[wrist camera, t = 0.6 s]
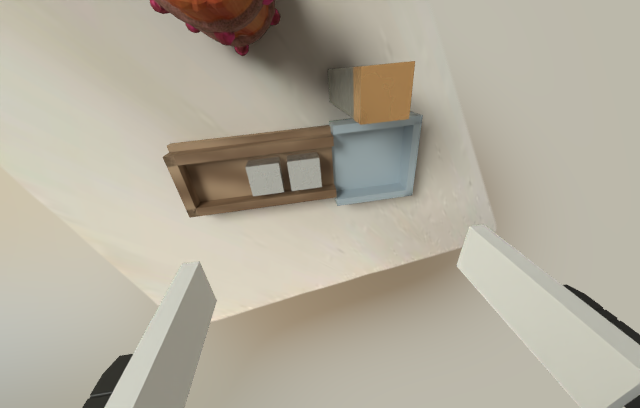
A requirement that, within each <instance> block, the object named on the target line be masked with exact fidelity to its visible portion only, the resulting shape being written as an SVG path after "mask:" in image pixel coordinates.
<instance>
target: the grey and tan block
mask: <svg viewBox="0 0 640 408" xmlns="http://www.w3.org/2000/svg"><path fill="white" fill-rule="evenodd" d="M414 67H415V61H411V62H400V63H390V64H380V65H370V66H357V67H347V68H337V69H328V82H329V99H330V103H332V104H333V105H335V106H336V107H338V108H339V109H341V110H342V111H343V112H345V113H346V114H348V115H349V116H351V117H352V118H354V120H355V121H356V122H358V123H359V124H360V125H363V124H372V123H380V122H389V121H397V120H406V119H409V115H410V105H411V96H412V86H413V76H414Z"/></svg>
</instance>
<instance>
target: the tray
mask: <svg viewBox="0 0 640 408" xmlns="http://www.w3.org/2000/svg"><path fill="white" fill-rule="evenodd" d="M422 117H423V115H420V114H417V113H414V112H410V115H409V119H406V120H397V121H389V122H380V123H372V124H363V125H360V124H359V123H358V122H356V121H355V120H354V118H352V119H343V120H334V121H329V126H330V128H331V134H332V135H333V140H334V146H332V160H333V176H334V185H335V188H336V193H337V197H334V198H335V201H336V203H337V206H340V205H347V204H354V203H361V202H368V201H375V200H382V199H389V198H397V197H404V196H411V195H412V193H413V185H414V178H415V170H416V162H417V155H418V147H419V140H420V132H421V125H422Z"/></svg>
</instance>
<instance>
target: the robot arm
mask: <svg viewBox="0 0 640 408" xmlns="http://www.w3.org/2000/svg"><path fill="white" fill-rule="evenodd" d="M456 266H457V267H458V268H459V270H460V271H461V272H462V273H463V274H464V275H465V276H466V278H467V279H468V280H469V281H470V282H471V283H472V284H473V286H474V287H475V288H476V289H477V290H478V291H479V292H480V293H481V295H482V296H483V297H484V298H485V299H486V300H487V302H488V303H489V304H490V305H491V306H492V307H493V308H494V310H495V311H496V312H497V313H498V314H499V315H500V316H501V317H502V319H503V320H504V321H505V322H506V323H507V324H508V326H509V327H510V328H511V329H512V330H513V331H514V332H515V334H516V335H517V336H518V337H519V338H520V339H521V340H522V341H523V343H524V344H525V345H526V346H527V347H528V348H529V350H530V351H531V352H532V353H533V354H534V355H535V356H536V358H537V359H538V360H539V361H540V362H541V363H542V364H543V366H544V367H545V368H546V369H547V370H548V371H549V372H550V374H551V375H552V376H553V377H554V378H555V379H556V380H557V382H558V383H559V384H560V385H561V386H562V387H563V389H564V390H565V391H566V392H567V393H568V394H569V395H570V396H571V398H572V399H573V400H574V401H575V402H576V403H577V405H578V406H579V407H580V408H622V407H626V408H640V335H639V334H638V333H637V332H635V331H634V330H633V329H631V328H630V327H629V326H627V325H626V324H625V323H623V322H622V321H618V320H617V317H615V316H614V315H612V314H611V313H610V312H608V311H607V310H604V309H603V307H602V306H600V305H599V304H598V303H596V302H595V301H593V300H592V299H591V298H590V297H588V296H587V295H586V294H584V293H582V292H580V291H578V290H576V289H574V288H572V287H570V286H568V285H562V284H560V283H559V282H558V281H556V280H555V279H554V278H553V277H551V276H550V275H549V274H547V273H546V272H545V271H543V270H542V269H541V268H540V267H538V266H537V265H536V264H535V263H533V262H532V261H531V260H529V259H528V258H527V257H525V256H524V255H523V254H521V253H520V252H519V251H518V250H516V249H515V248H514V247H513V246H511V245H510V244H508V243H507V242H506V241H505V240H503V239H502V238H501V237H500V236H498V235H497V234H496V233H495V232H493V231H492V230H491V229H489V228H488V227H487V226H485V225H484V224H482V225H474V226H469V229H468V232H467V235H466V238H465V241H464V244H463V247H462V250H461V253H460V257H459V260H458V263H457V265H456ZM216 301H217V300H216V298H215V296H214V293H213V291H212V289H211V287H210V284H209V282H208V280H207V277H206V275H205V273H204V271H203V268H202V266H201V264H200V262H199V261H198V262H191V263H183V264H182V265H181V266H180V268H179V270H178V272H177V274H176V276H175V277H174V279H173V281H172V283H171V285H170V287H169V289H168V290H167V292H166V294H165V296H164V298H163V300H162V302H161V303H160V305H159V307H158V309H157V311H156V313H155V315H154V317H153V318H152V320H151V322H150V324H149V326H148V328H147V329H146V331H145V333H144V335H143V337H142V339H141V341H140V342H139V344H138V346H137V348H136V350H135V352H134V354H129V355H122V356H119V357H118V358H117V359H116V361H114V362H113V364H112V365H111V366H110V367H109V368H108V369H107V370H106V371H105V372H104V373H103V374H102V376H101V378H100V379H99V381H98V383H97V385H96V386H95V388H94V389H93V391H92V393H91V394H90V396H91V397H90V398H89V399H88V400H87V401H86V403H85V404H84V406H83V408H184V407H185V404H186V401H187V397H188V394H189V391H190V387H191V384H192V381H193V377H194V374H195V371H196V367H197V364H198V361H199V358H200V354H201V351H202V348H203V344H204V341H205V338H206V334H207V331H208V328H209V324H210V321H211V318H212V314H213V311H214V308H215V305H216Z"/></svg>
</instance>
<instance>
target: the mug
mask: <svg viewBox="0 0 640 408" xmlns="http://www.w3.org/2000/svg"><path fill="white" fill-rule="evenodd" d="M150 4H151V6H152V7H153V9H154V10H155V11H157V12H159V13H162V14H165V13H171V14H173V15H174V16H175V17H176V18H178V19H180V20H182V21H183V22H185V23H186V26H187V28H188V29H189V30H190V31H191V32H194V33H198V32H200V31H202V32H203V33H205V34H206V35H207V36H209V37H210V38H212V39H214V40H216V41H218V42H220V43H222V44H223V45H231V46H234V47H235V50H236V52H237V53H238V54H240V55H241V56H244V55H246V54H247V52H248V51H249V44H251V43H253V42H256V41H257V40H258V39H259V38H261V37H262V36H263V35H264V33H265V32H266V31H267V29H268V28H269V26H270V25H276V24H278V23H279V21H280V14H279V13H278V11H277V9H276V8H275V0H150Z"/></svg>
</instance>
